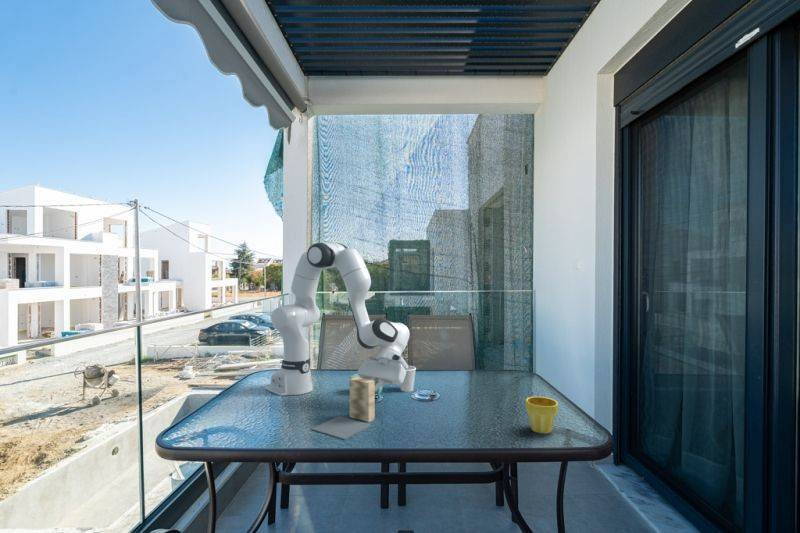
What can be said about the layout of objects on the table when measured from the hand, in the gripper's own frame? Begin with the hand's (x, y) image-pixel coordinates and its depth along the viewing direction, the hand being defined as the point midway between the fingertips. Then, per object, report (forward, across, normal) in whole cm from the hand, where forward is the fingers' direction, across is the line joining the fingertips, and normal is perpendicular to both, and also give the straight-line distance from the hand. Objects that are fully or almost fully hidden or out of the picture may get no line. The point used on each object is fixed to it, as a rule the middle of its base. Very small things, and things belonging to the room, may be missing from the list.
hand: (372, 390), depth 156 cm
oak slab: (+11, 0, +2) cm, 11 cm away
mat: (+18, 0, -6) cm, 19 cm away
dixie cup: (-16, -5, +28) cm, 33 cm away
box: (-7, -18, +19) cm, 27 cm away
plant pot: (-7, +58, +20) cm, 61 cm away
